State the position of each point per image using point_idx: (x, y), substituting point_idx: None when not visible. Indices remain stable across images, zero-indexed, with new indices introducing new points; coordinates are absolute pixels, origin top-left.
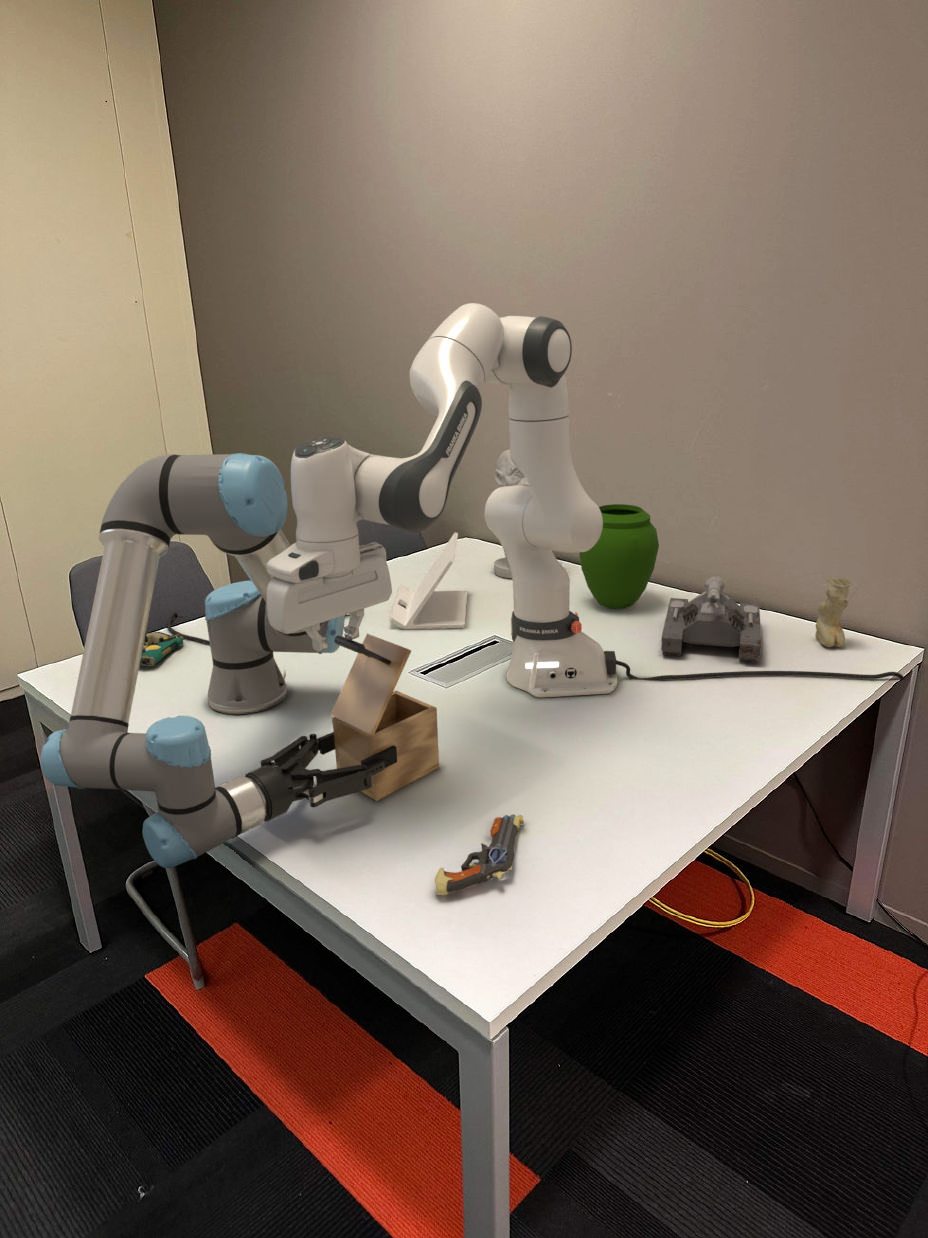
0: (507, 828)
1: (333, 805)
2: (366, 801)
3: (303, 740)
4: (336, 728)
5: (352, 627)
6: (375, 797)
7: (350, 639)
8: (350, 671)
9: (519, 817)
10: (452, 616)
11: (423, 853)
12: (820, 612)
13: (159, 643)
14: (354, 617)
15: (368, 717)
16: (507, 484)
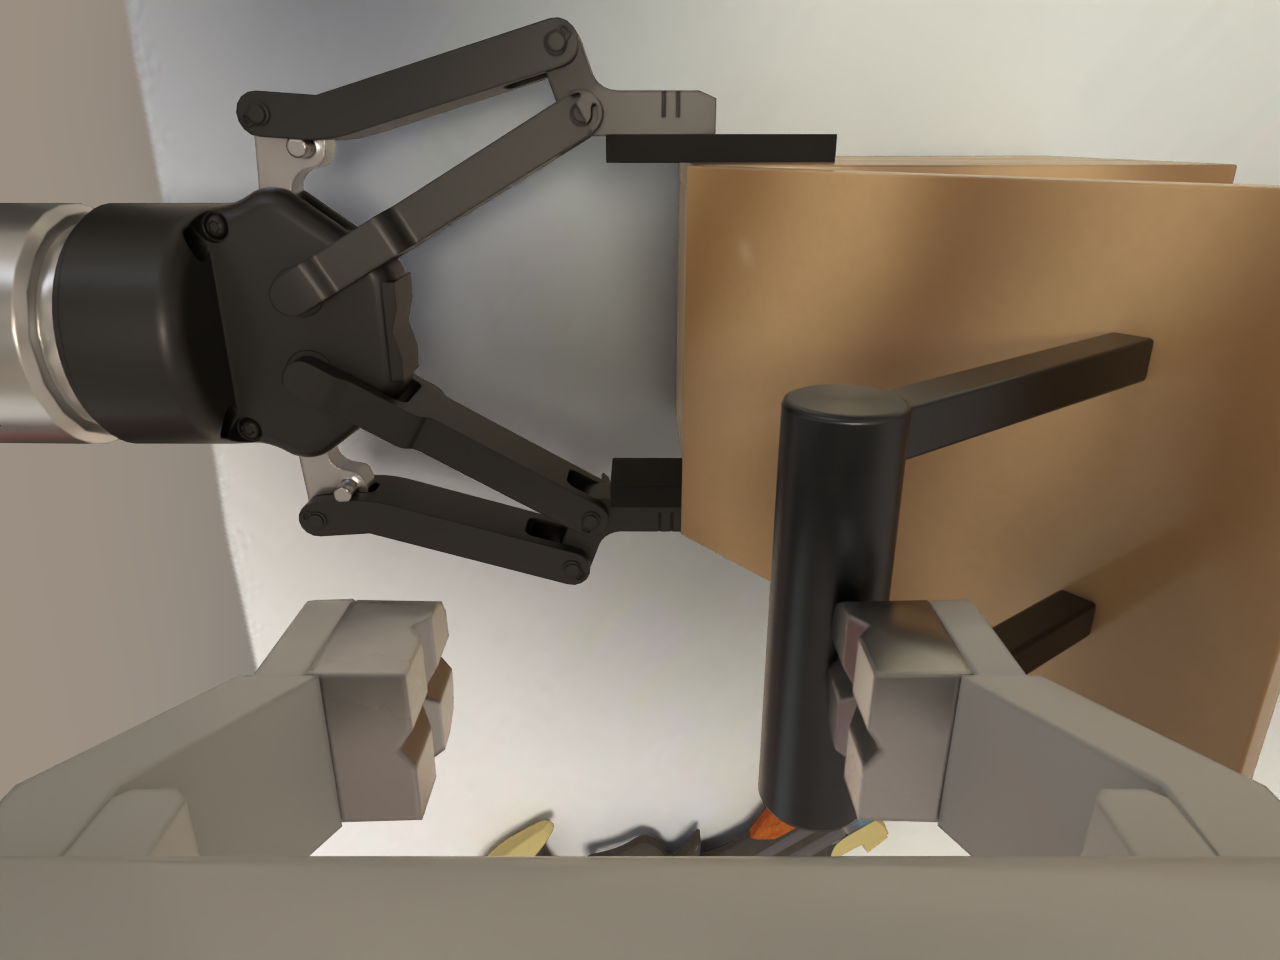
0: (806, 844)
1: (545, 310)
2: (650, 383)
3: (539, 73)
4: None
5: (935, 775)
6: (676, 410)
7: (829, 692)
8: (954, 186)
9: (872, 838)
10: None
11: (584, 716)
12: None
13: None
14: (1081, 846)
15: (735, 499)
16: None
